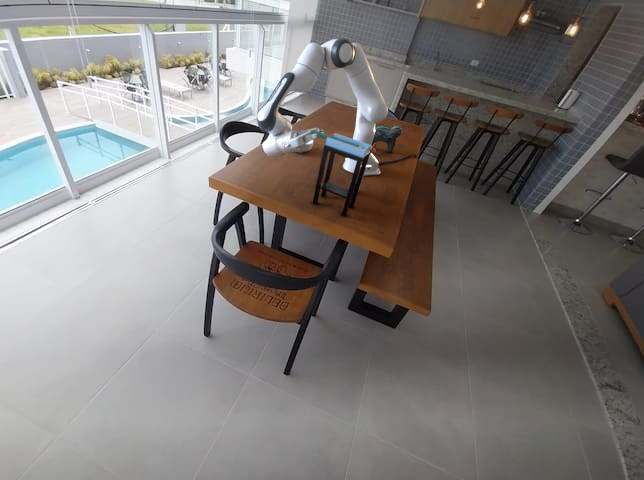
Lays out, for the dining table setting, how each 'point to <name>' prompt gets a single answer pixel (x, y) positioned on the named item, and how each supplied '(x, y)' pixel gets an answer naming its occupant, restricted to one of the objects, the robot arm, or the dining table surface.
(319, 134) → the pencil
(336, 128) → the dining table surface
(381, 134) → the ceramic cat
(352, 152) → the tray
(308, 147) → the cereal bowl
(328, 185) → the stool
